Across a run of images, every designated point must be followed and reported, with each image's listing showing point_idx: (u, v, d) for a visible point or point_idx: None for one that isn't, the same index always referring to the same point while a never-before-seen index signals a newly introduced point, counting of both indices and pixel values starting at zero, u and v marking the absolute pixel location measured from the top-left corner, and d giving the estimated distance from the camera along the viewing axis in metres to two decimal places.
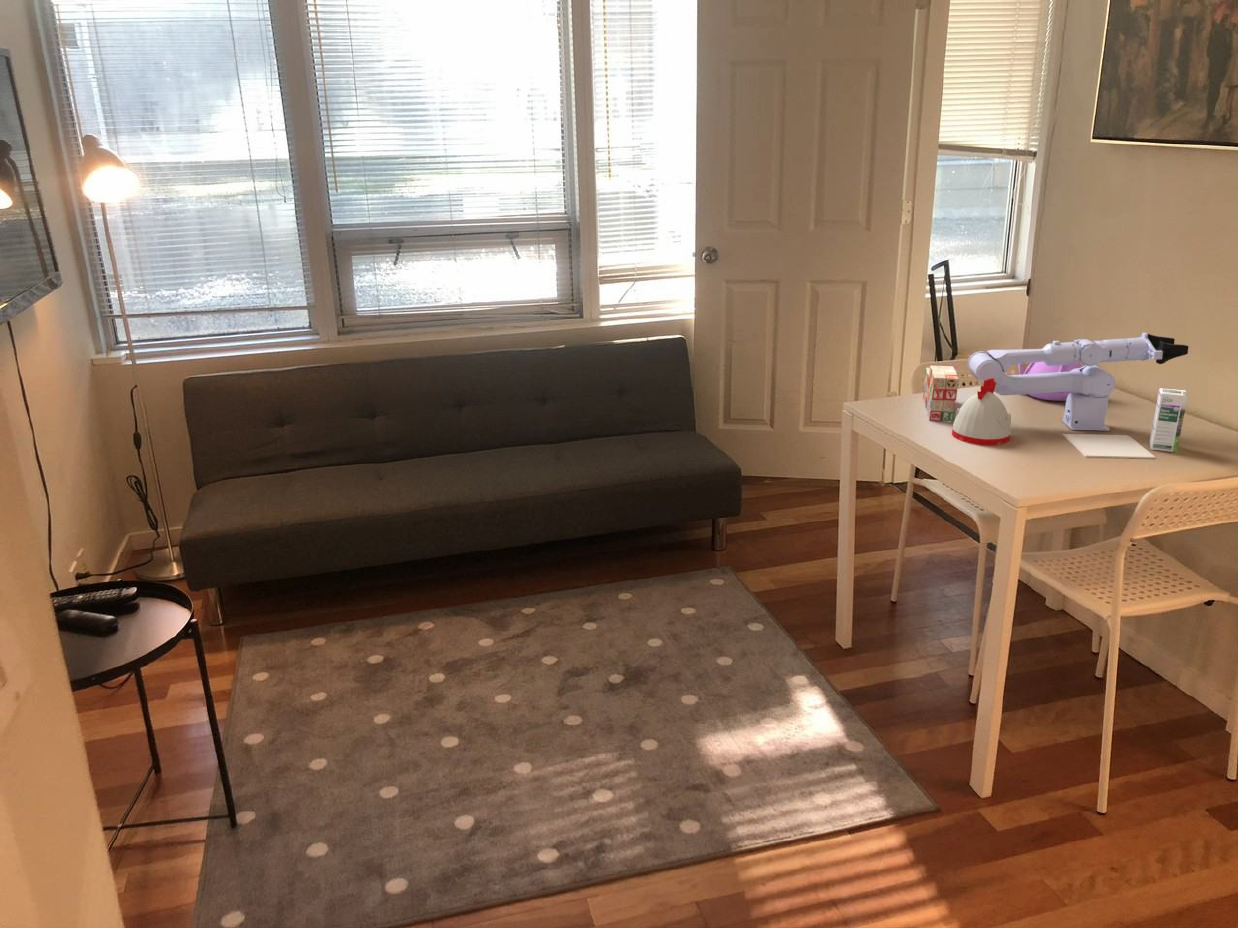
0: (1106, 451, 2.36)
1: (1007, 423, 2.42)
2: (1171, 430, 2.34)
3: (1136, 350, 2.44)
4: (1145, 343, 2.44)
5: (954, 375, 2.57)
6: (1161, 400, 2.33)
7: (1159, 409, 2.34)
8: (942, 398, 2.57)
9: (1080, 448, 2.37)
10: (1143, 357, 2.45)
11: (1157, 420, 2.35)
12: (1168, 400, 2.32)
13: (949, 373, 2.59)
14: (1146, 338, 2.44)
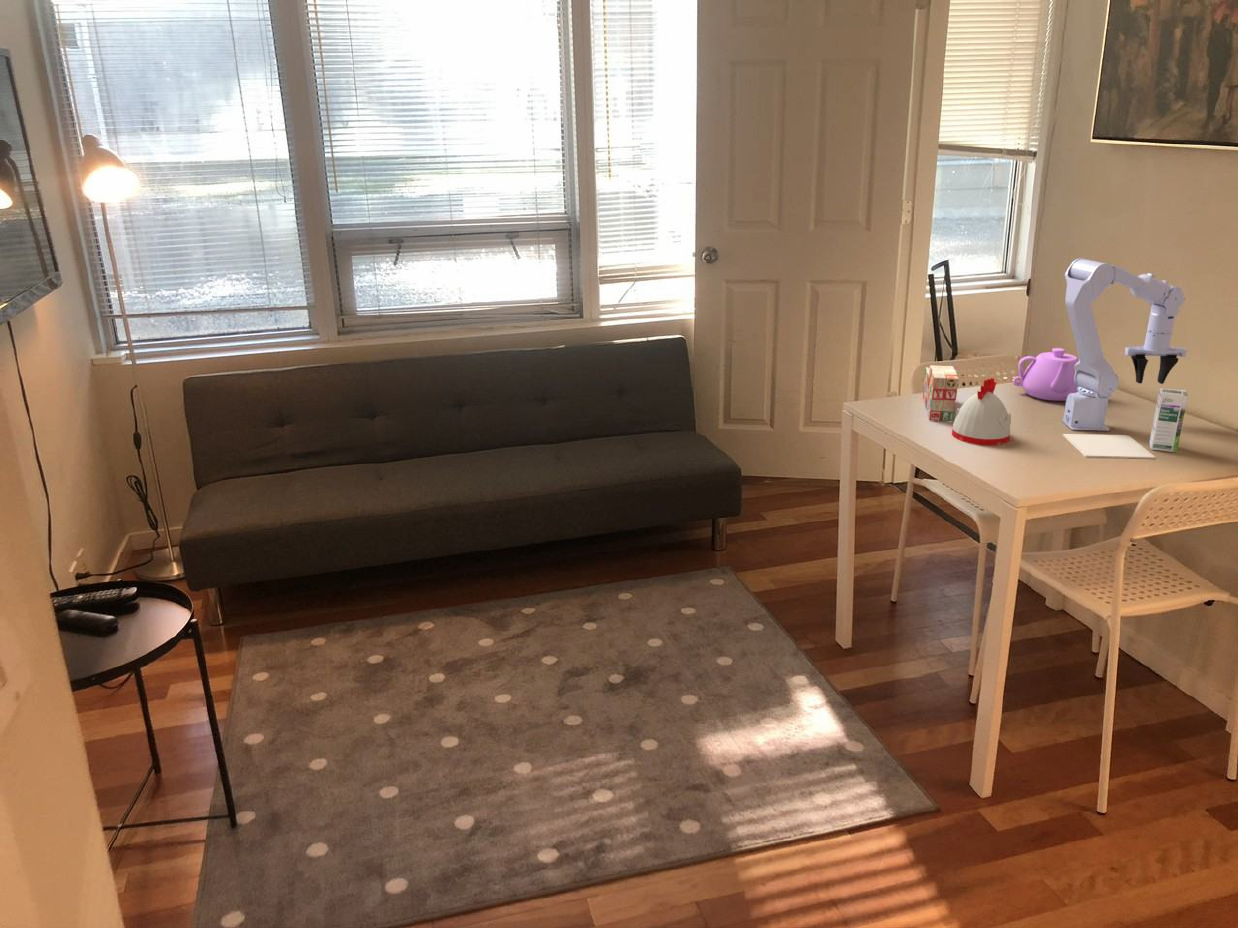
0: (1106, 451, 2.36)
1: (1007, 423, 2.42)
2: (1171, 430, 2.34)
3: None
4: None
5: (954, 375, 2.57)
6: (1161, 400, 2.33)
7: (1159, 409, 2.34)
8: (941, 398, 2.57)
9: (1080, 448, 2.37)
10: (1168, 348, 2.50)
11: (1157, 420, 2.35)
12: (1168, 400, 2.32)
13: (949, 373, 2.59)
14: None
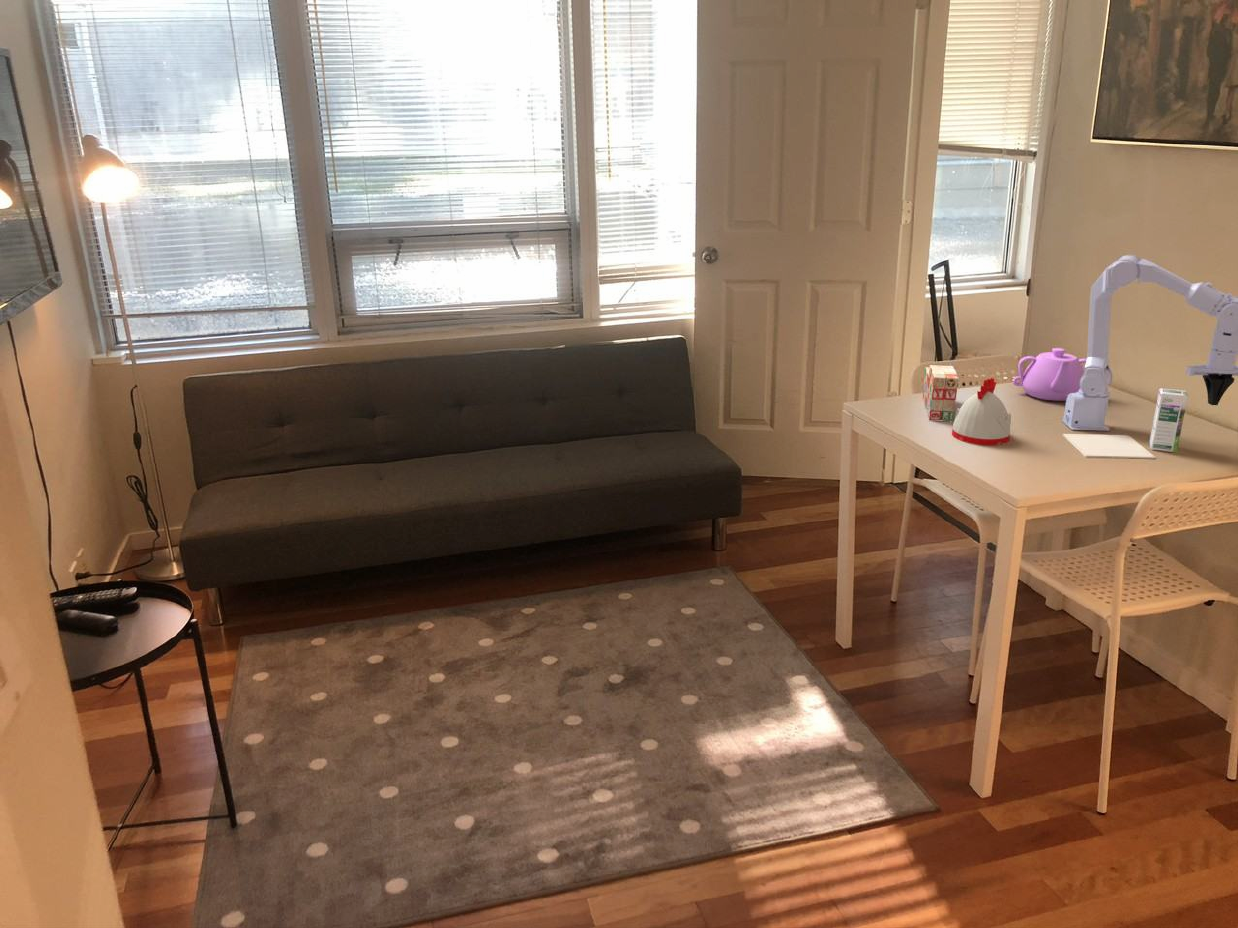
0: (1106, 451, 2.36)
1: (1007, 423, 2.42)
2: (1171, 430, 2.34)
3: None
4: None
5: (954, 375, 2.57)
6: (1161, 400, 2.33)
7: (1159, 409, 2.34)
8: (941, 397, 2.57)
9: (1080, 448, 2.37)
10: (1234, 367, 2.32)
11: (1157, 420, 2.35)
12: (1168, 400, 2.32)
13: (949, 372, 2.59)
14: None
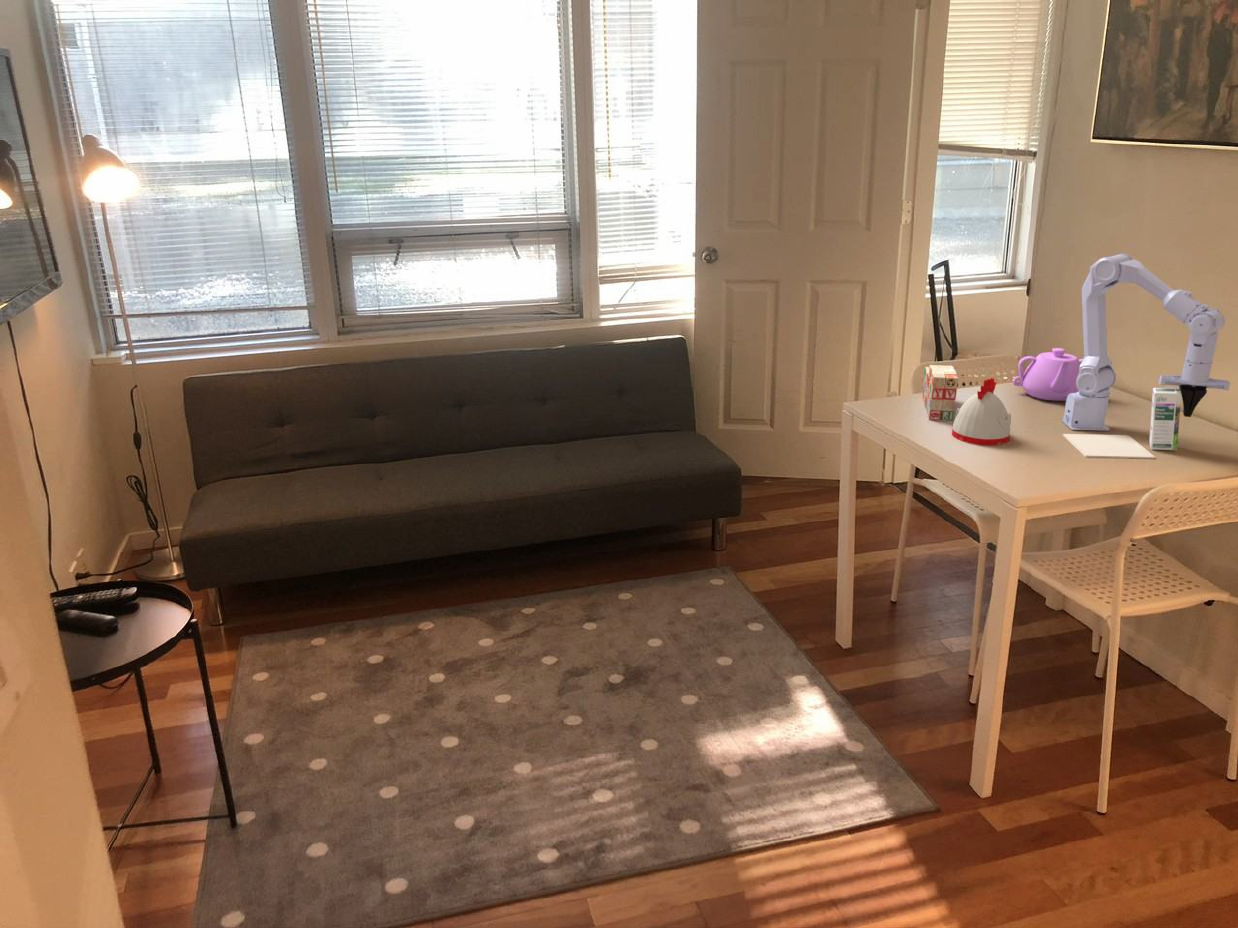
0: (1106, 451, 2.36)
1: (1007, 423, 2.42)
2: (1169, 429, 2.34)
3: None
4: None
5: (953, 374, 2.58)
6: (1155, 400, 2.33)
7: (1154, 409, 2.34)
8: (941, 397, 2.58)
9: (1080, 448, 2.37)
10: (1207, 379, 2.30)
11: (1154, 420, 2.35)
12: (1163, 399, 2.33)
13: (949, 372, 2.59)
14: None
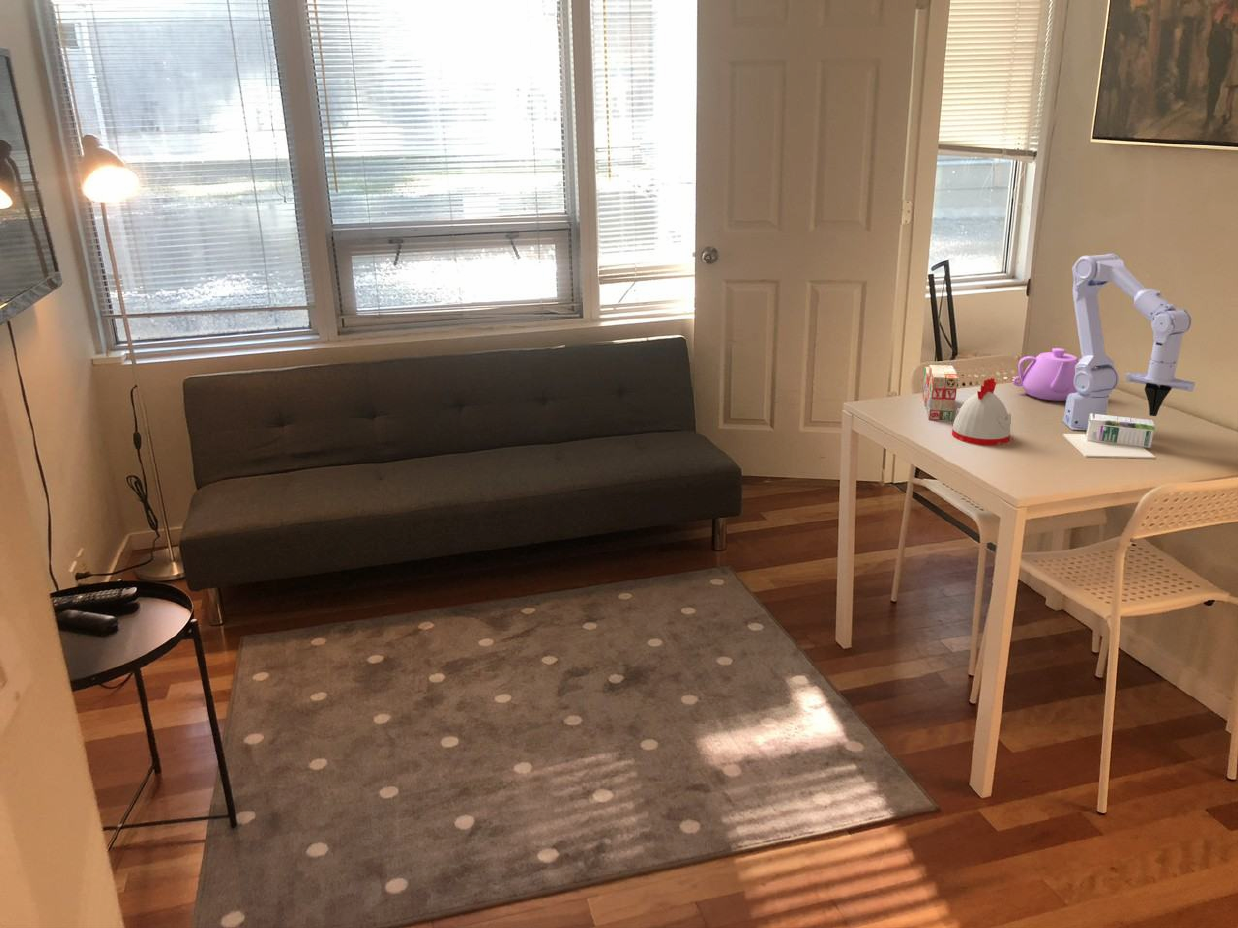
0: (1106, 451, 2.36)
1: (1007, 423, 2.42)
2: (1128, 431, 2.38)
3: (1175, 369, 2.31)
4: None
5: (953, 374, 2.58)
6: (1094, 440, 2.42)
7: (1104, 441, 2.41)
8: (941, 397, 2.58)
9: (1080, 448, 2.37)
10: (1170, 379, 2.30)
11: (1116, 443, 2.40)
12: (1095, 434, 2.41)
13: (948, 372, 2.59)
14: None
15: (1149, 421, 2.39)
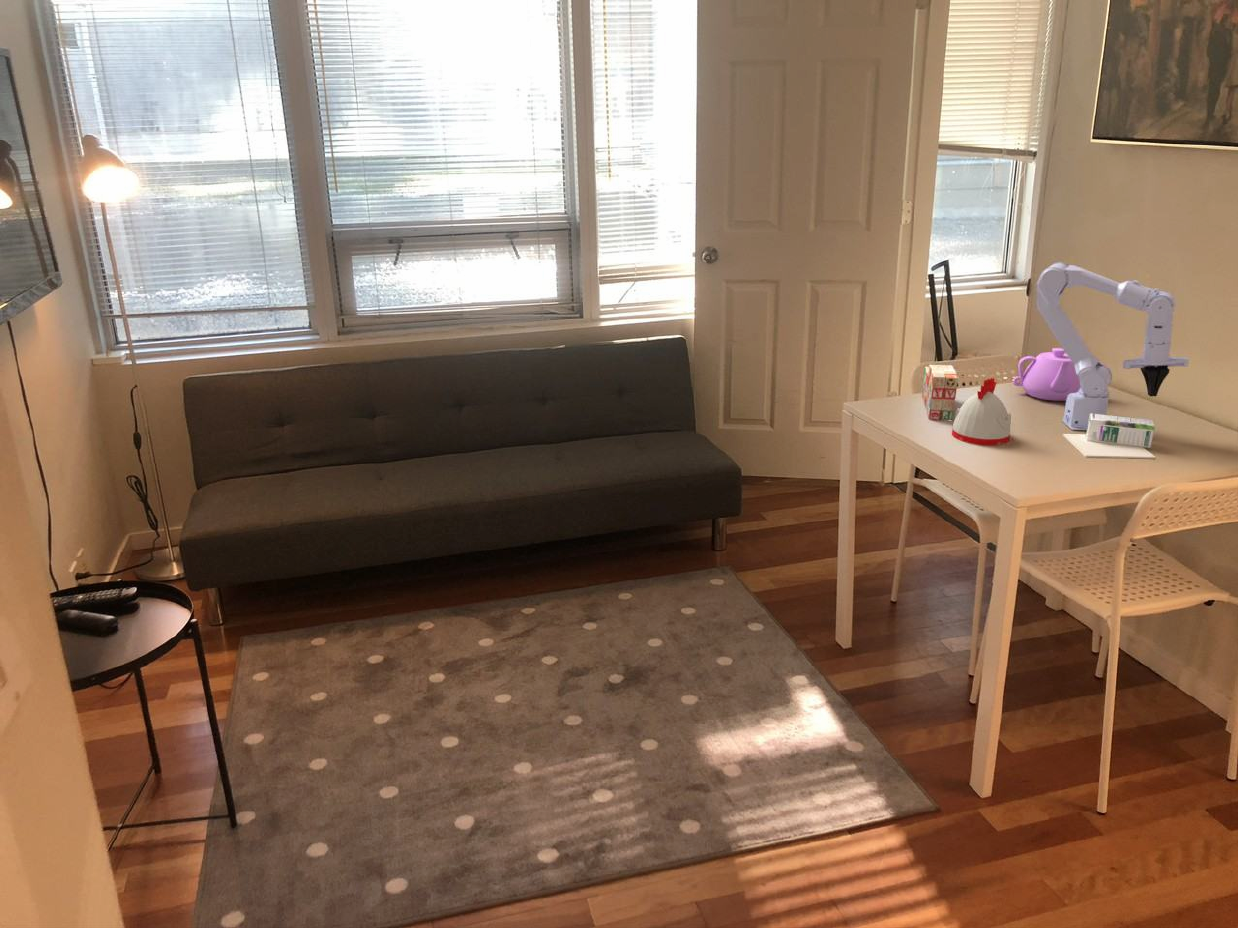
0: (1106, 451, 2.36)
1: (1007, 423, 2.42)
2: (1128, 431, 2.38)
3: None
4: None
5: (953, 374, 2.58)
6: (1094, 440, 2.42)
7: (1104, 441, 2.41)
8: (941, 397, 2.58)
9: (1080, 448, 2.37)
10: (1168, 358, 2.39)
11: (1116, 443, 2.40)
12: (1095, 434, 2.41)
13: (948, 372, 2.60)
14: None
15: (1149, 421, 2.39)
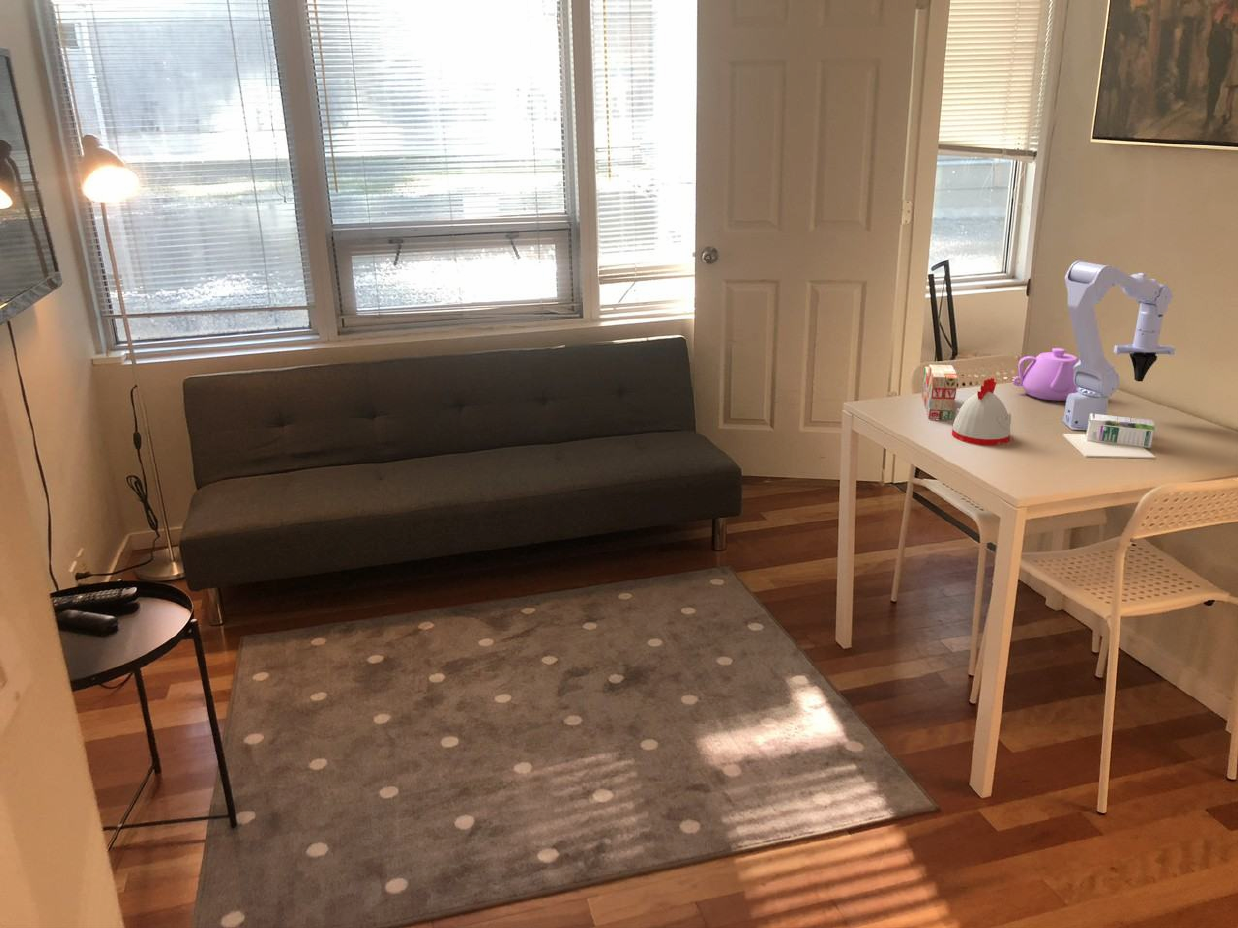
0: (1106, 451, 2.36)
1: (1007, 423, 2.42)
2: (1128, 431, 2.38)
3: None
4: None
5: (953, 374, 2.58)
6: (1094, 440, 2.42)
7: (1104, 441, 2.41)
8: (941, 397, 2.58)
9: (1080, 448, 2.37)
10: (1157, 346, 2.52)
11: (1116, 443, 2.40)
12: (1095, 434, 2.41)
13: (948, 372, 2.60)
14: None
15: (1149, 421, 2.39)
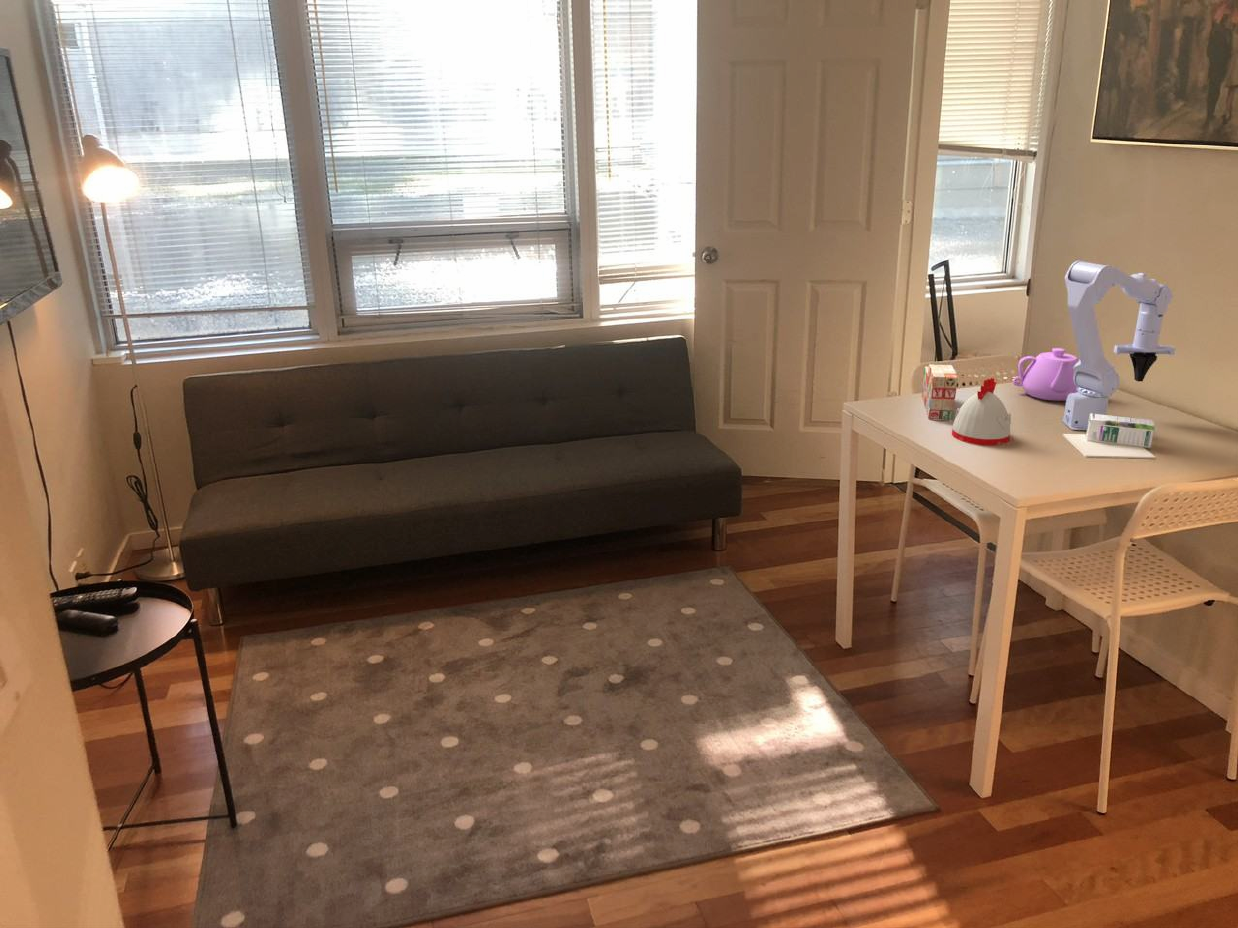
0: (1106, 451, 2.36)
1: (1007, 423, 2.42)
2: (1128, 431, 2.38)
3: None
4: None
5: (953, 374, 2.58)
6: (1094, 440, 2.42)
7: (1104, 441, 2.41)
8: (941, 396, 2.58)
9: (1080, 448, 2.37)
10: (1157, 346, 2.52)
11: (1116, 443, 2.40)
12: (1095, 434, 2.41)
13: (948, 372, 2.60)
14: None
15: (1149, 421, 2.39)
